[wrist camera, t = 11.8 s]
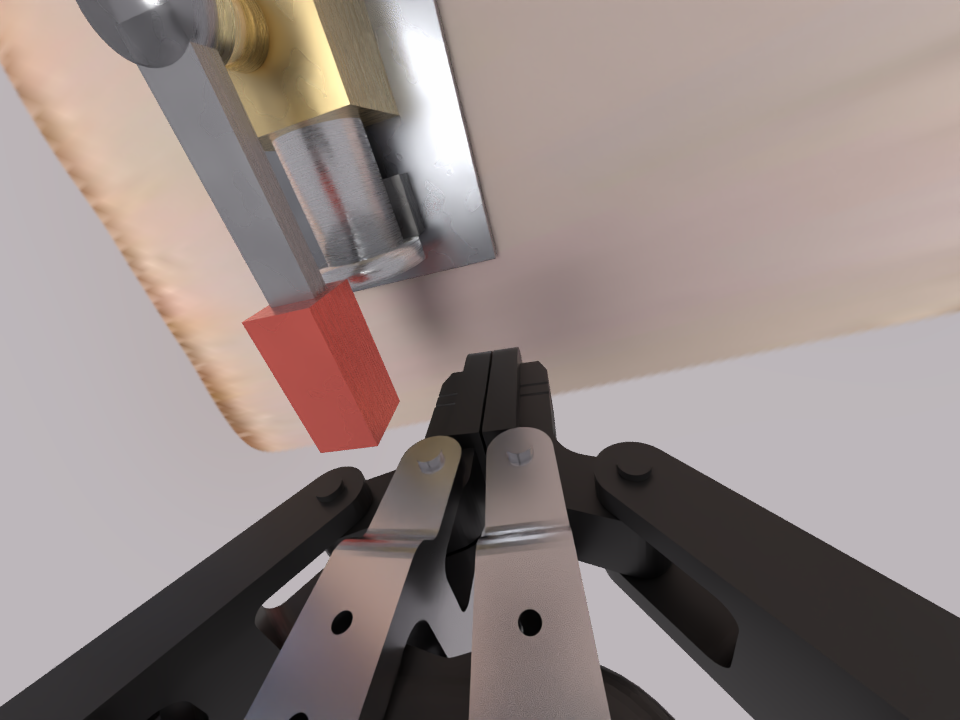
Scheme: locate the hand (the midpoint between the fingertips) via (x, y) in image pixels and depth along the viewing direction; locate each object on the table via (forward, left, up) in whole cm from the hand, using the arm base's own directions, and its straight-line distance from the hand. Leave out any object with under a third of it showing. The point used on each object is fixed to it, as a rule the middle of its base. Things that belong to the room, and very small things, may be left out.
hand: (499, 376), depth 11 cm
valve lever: (-5, -7, -4) cm, 10 cm away
